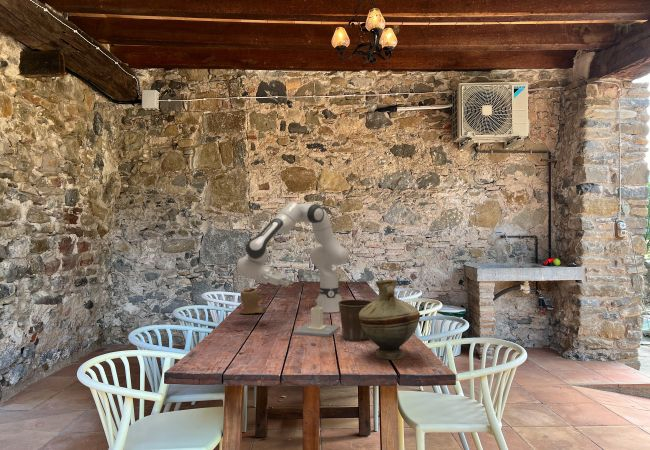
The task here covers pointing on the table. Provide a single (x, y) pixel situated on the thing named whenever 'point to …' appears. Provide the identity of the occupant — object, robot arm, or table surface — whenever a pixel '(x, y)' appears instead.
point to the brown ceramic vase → (389, 321)
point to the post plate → (325, 333)
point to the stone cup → (251, 302)
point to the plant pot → (352, 319)
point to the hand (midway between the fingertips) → (291, 283)
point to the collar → (317, 319)
